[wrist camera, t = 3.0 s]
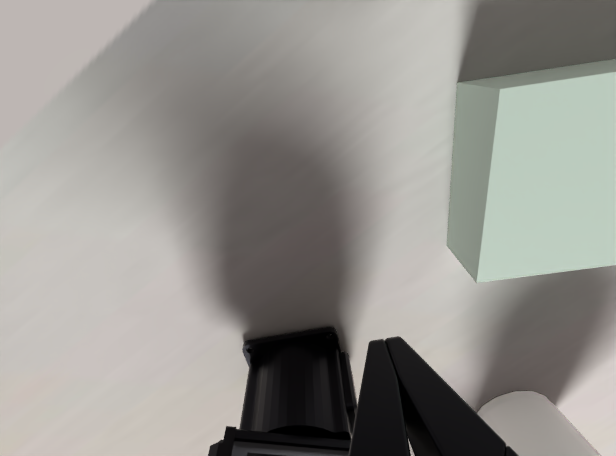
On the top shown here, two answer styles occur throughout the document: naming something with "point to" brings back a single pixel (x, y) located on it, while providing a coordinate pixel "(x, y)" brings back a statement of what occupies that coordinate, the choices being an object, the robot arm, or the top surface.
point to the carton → (535, 172)
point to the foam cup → (534, 426)
